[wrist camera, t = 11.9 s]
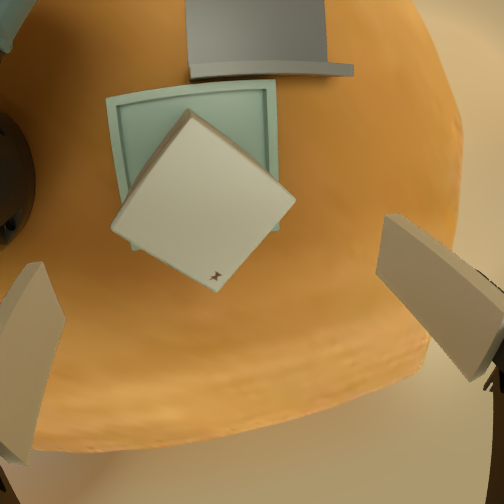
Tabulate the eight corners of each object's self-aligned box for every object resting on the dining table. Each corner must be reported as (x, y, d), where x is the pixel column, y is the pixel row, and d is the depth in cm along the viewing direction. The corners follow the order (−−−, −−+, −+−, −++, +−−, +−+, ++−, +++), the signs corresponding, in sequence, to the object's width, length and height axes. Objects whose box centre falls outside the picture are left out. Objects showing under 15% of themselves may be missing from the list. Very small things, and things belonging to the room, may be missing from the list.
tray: (134, 241, 30) (132, 250, 28) (110, 97, 23) (105, 98, 21) (273, 222, 32) (279, 230, 30) (269, 79, 25) (275, 79, 24)
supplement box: (253, 155, 28) (303, 202, 17) (201, 217, 30) (216, 299, 19) (188, 104, 25) (192, 112, 14) (135, 172, 26) (105, 232, 15)
